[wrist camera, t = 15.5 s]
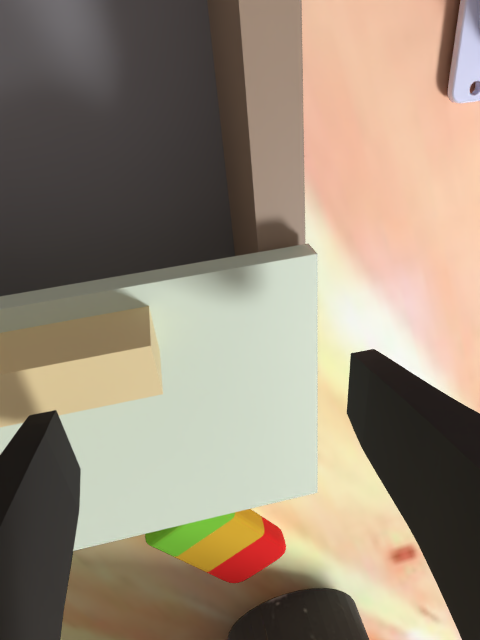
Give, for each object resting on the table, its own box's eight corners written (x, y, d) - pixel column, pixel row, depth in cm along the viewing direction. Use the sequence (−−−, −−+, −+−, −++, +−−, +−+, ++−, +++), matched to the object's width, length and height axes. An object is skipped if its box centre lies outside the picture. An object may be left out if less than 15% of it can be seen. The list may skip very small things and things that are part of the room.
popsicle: (230, 565, 34) (235, 589, 33) (76, 485, 26) (72, 513, 25) (287, 528, 33) (294, 551, 32) (143, 434, 25) (144, 459, 24)
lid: (308, 243, 13) (344, 285, 11) (311, 477, 19) (335, 536, 17) (-277, 344, 12) (-382, 419, 9) (-76, 567, 18) (-108, 647, 15)
